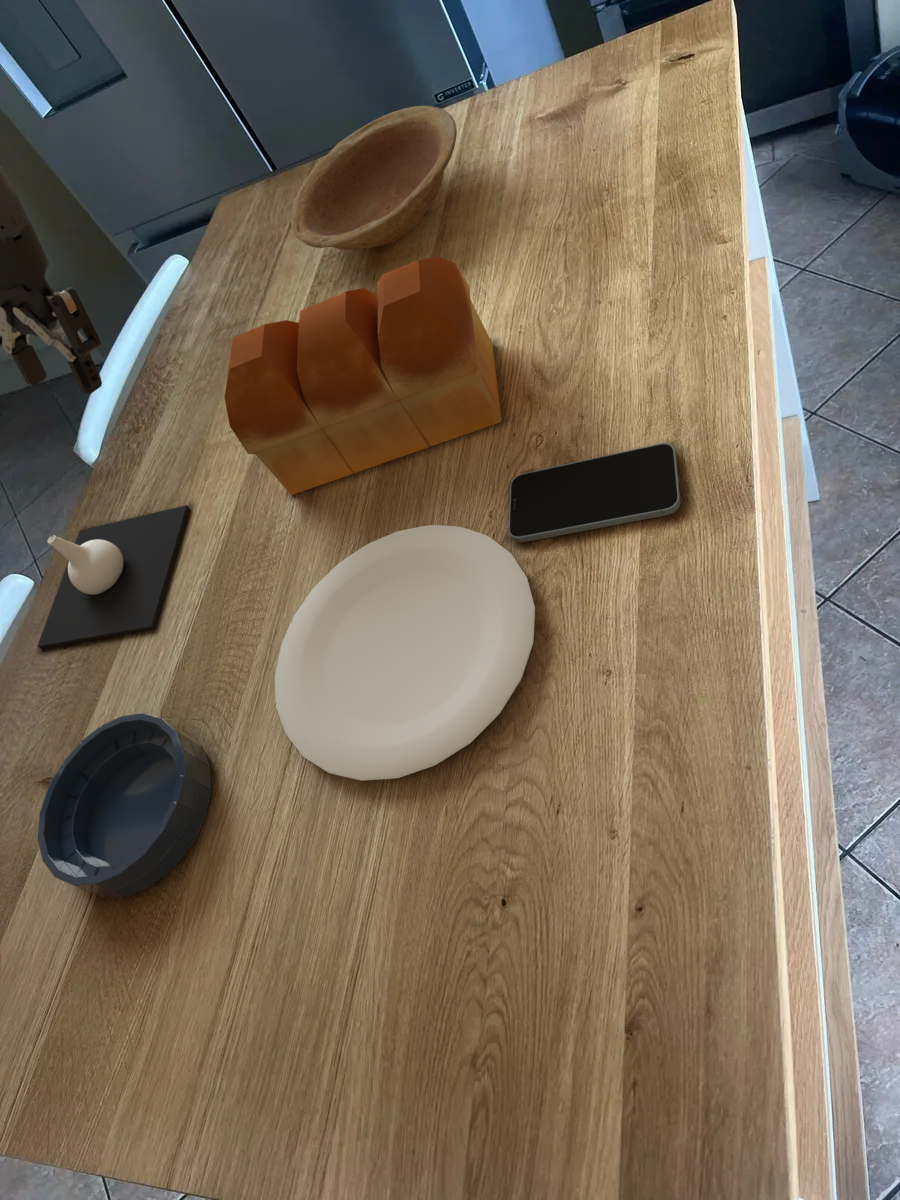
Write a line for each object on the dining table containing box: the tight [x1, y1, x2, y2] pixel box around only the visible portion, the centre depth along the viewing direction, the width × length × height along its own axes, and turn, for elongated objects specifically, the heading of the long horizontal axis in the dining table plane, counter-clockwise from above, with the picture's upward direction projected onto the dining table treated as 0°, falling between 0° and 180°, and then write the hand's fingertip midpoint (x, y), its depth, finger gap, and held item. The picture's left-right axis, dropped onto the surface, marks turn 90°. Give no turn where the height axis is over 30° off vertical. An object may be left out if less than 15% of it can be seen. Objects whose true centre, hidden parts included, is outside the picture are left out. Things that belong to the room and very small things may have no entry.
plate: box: [274, 524, 537, 782], centre depth 79 cm, size 25×25×2 cm
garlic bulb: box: [46, 534, 123, 595], centre depth 98 cm, size 6×6×8 cm
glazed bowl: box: [37, 712, 212, 898], centre depth 80 cm, size 15×15×4 cm
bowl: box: [290, 105, 458, 251], centre depth 114 cm, size 24×24×8 cm
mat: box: [37, 505, 190, 650], centre depth 101 cm, size 16×16×1 cm
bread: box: [224, 256, 503, 496], centre depth 91 cm, size 25×12×15 cm, turn 93°
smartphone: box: [508, 442, 681, 543], centre depth 79 cm, size 7×1×15 cm
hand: (65, 385), depth 94 cm, fingers open, 8 cm apart
